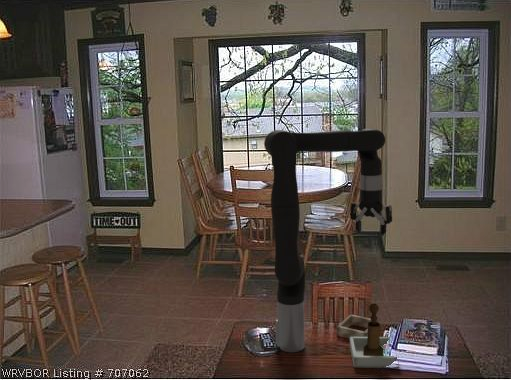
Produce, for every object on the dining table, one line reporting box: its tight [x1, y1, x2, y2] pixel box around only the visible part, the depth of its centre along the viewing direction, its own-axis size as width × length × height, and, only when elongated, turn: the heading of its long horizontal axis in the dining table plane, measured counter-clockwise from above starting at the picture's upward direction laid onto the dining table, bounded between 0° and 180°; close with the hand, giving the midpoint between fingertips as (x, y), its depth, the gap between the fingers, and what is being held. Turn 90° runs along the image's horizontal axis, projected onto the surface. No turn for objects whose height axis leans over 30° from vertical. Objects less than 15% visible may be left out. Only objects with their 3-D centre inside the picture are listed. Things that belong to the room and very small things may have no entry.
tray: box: [349, 336, 397, 369], centre depth 174 cm, size 14×14×4 cm
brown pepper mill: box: [363, 303, 383, 356], centre depth 173 cm, size 7×6×18 cm
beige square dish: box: [336, 314, 379, 340], centre depth 191 cm, size 11×12×4 cm
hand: (370, 233), depth 182 cm, fingers open, 8 cm apart
